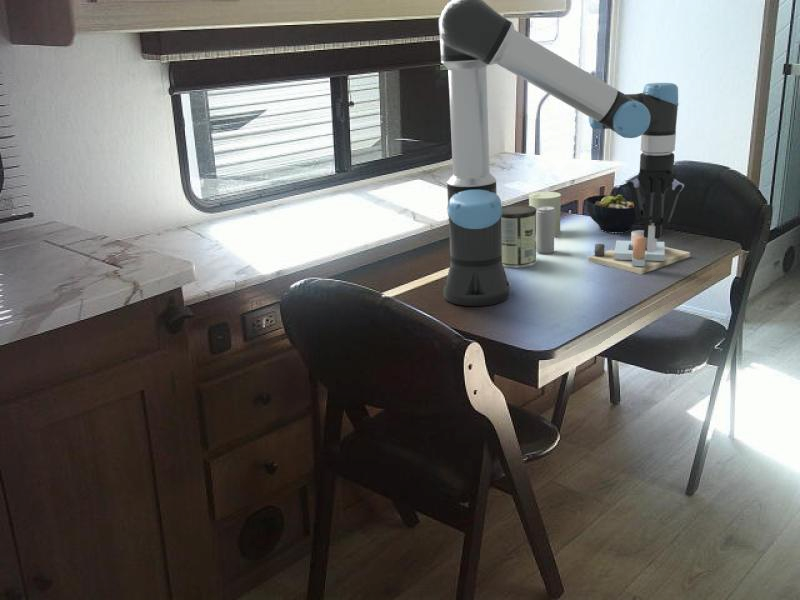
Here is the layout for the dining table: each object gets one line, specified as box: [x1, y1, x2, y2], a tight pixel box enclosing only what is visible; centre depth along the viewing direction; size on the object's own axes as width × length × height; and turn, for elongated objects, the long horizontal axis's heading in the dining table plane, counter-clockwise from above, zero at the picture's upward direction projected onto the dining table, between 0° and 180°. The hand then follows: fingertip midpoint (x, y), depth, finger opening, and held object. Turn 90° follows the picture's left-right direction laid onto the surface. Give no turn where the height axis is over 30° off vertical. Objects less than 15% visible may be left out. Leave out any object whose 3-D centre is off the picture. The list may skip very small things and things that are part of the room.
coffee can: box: [501, 204, 537, 269], centre depth 204 cm, size 10×10×14 cm
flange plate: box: [614, 237, 665, 266], centre depth 199 cm, size 17×12×7 cm
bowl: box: [585, 194, 645, 234], centre depth 230 cm, size 17×17×10 cm
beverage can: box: [536, 206, 555, 255], centre depth 211 cm, size 5×5×12 cm
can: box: [528, 191, 562, 238], centre depth 229 cm, size 9×9×12 cm
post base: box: [588, 229, 691, 275], centre depth 202 cm, size 20×16×7 cm
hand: (651, 250), depth 191 cm, fingers closed
